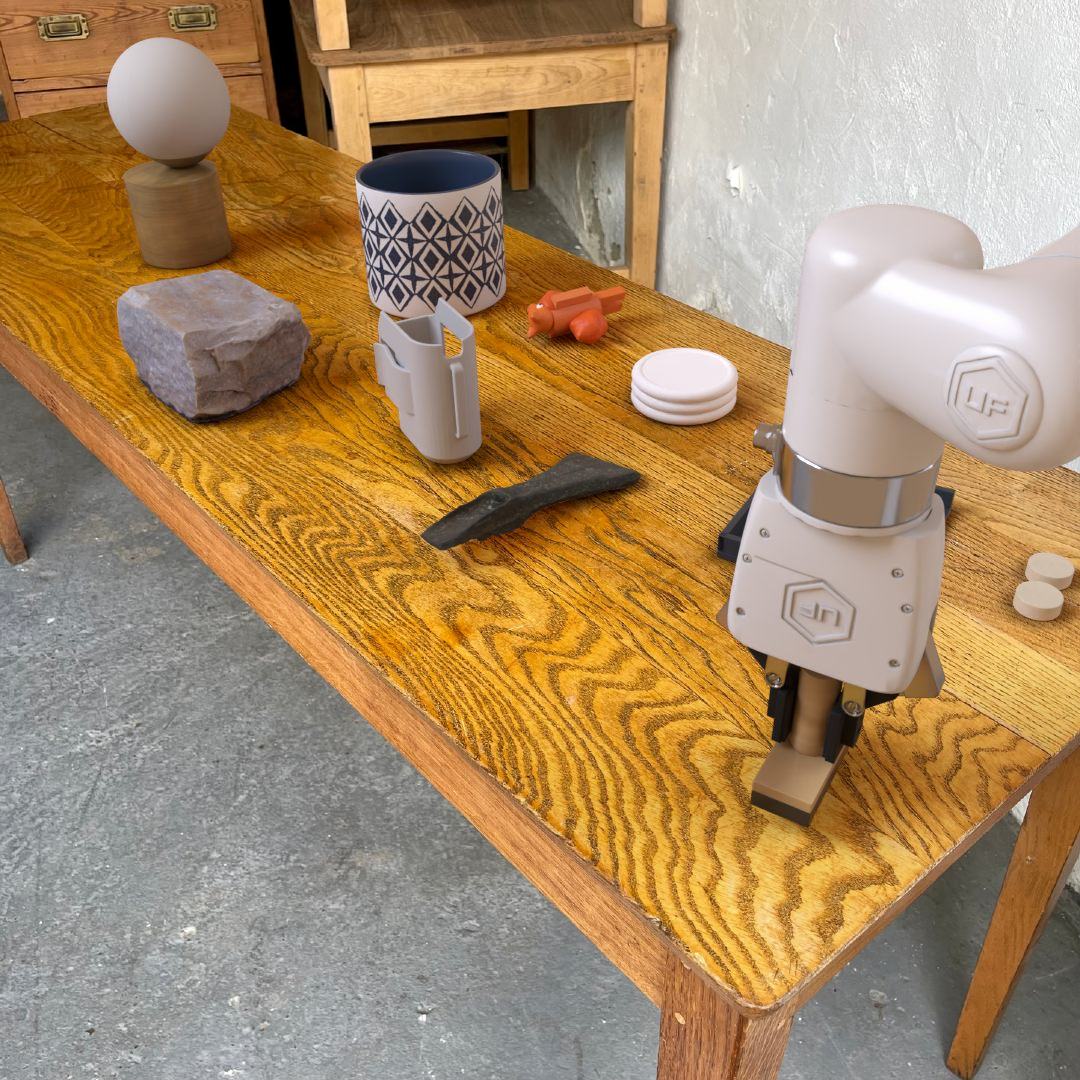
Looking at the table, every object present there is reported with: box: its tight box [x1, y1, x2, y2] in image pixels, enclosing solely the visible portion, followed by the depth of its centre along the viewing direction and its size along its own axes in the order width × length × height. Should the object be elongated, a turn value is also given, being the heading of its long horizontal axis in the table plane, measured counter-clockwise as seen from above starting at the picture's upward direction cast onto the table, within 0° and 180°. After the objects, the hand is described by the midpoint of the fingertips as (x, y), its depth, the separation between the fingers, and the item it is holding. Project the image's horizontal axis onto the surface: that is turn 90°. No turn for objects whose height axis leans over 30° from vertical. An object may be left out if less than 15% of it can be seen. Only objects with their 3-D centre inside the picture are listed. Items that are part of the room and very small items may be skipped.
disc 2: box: [1012, 580, 1065, 622], centre depth 79 cm, size 3×3×1 cm
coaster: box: [630, 347, 739, 426], centre depth 105 cm, size 10×10×4 cm
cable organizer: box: [372, 298, 483, 465], centre depth 97 cm, size 7×12×12 cm, turn 27°
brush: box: [749, 667, 850, 829], centre depth 64 cm, size 4×9×8 cm, turn 149°
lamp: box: [106, 36, 233, 270], centre depth 136 cm, size 15×14×25 cm
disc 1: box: [1024, 551, 1076, 591], centre depth 82 cm, size 3×3×1 cm
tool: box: [420, 451, 643, 552], centre depth 90 cm, size 21×8×3 cm, turn 136°
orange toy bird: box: [526, 285, 627, 345], centre depth 117 cm, size 5×8×12 cm
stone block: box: [116, 269, 312, 425], centre depth 110 cm, size 17×12×15 cm
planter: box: [354, 148, 507, 320], centre depth 124 cm, size 16×16×14 cm
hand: (811, 735), depth 64 cm, fingers closed on brush, 2 cm apart
